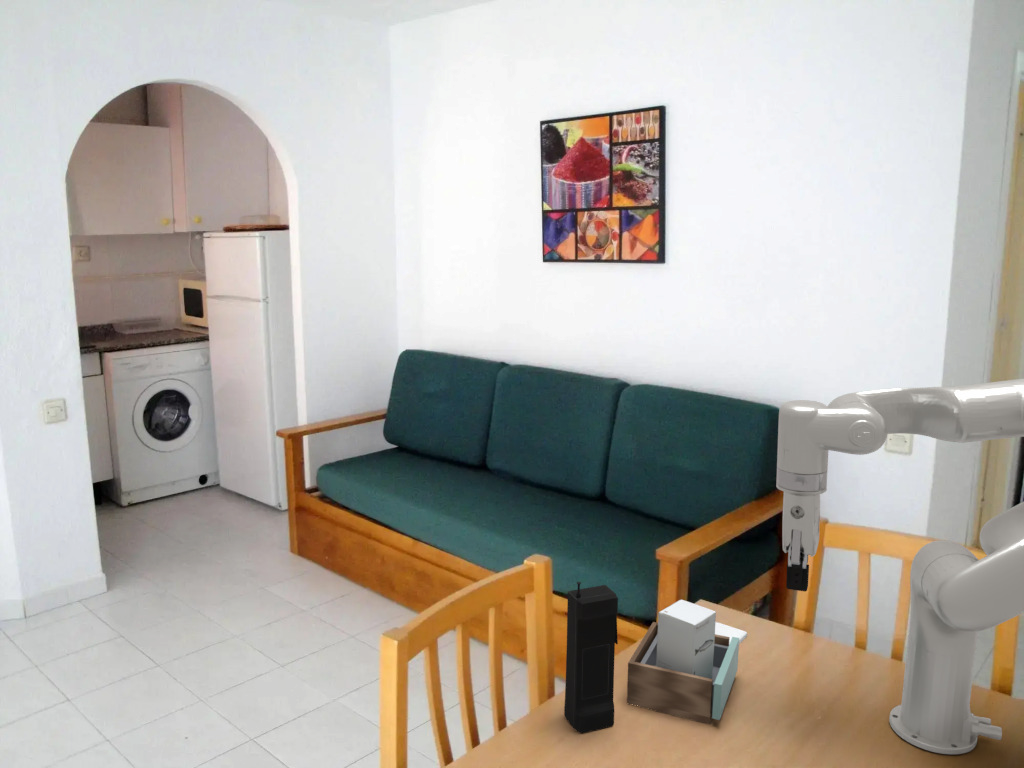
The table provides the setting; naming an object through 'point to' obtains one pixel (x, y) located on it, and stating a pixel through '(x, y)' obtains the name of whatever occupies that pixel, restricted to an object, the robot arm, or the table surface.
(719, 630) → the external hard drive
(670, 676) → the box
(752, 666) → the table surface
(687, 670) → the supplement box
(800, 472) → the robot arm
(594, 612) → the portable radio
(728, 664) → the drawer
